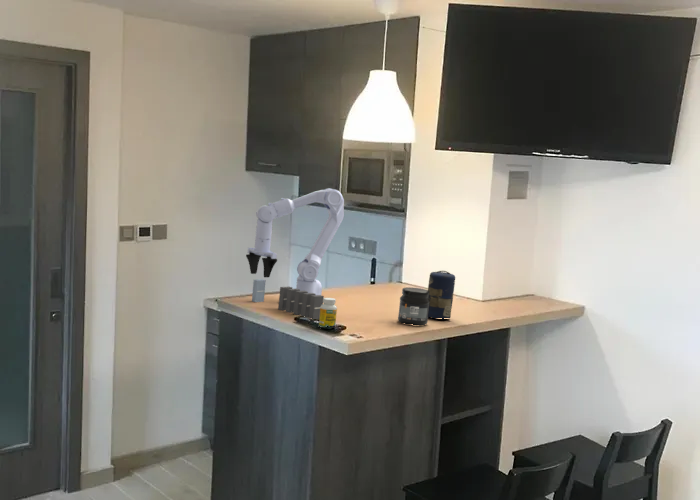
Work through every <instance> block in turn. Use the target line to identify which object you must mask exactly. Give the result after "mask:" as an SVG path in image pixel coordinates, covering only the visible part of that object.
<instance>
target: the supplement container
mask: <svg viewBox="0 0 700 500" xmlns="http://www.w3.org/2000/svg"><path fill="white" fill-rule="evenodd" d="M401 294H402V295H401V296H400V297H399V308H398V316H397V321H398V323H400V322H401V323H400V324H402V323H405V324H413V325H424V326H426V325H427V324H428V321H429V320H428V319H429V317H428V311H429V304H430V300H429V299H428V297H429V291H428V289H426V288H420V287H408V286H407V287H403V288H402V289H401ZM405 324H404V325H405ZM425 324H426V325H425Z"/></svg>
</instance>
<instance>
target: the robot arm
mask: <svg viewBox="0 0 700 500" xmlns="http://www.w3.org/2000/svg"><path fill="white" fill-rule="evenodd" d="M343 196H344V195H342V193H341V191H339V190H338V189H334V188H329V187H328V188H325V189H320V190H316V191H312V192H310V193H308V194H305V195H302V196H299V197H297V198H294V199H290V198H288V197H287V198H284V197H281V198H280V200H277V201H274V202H268V203H267V204H268V205H266V204H264V205H261V206H259V207H258V208H257V210H256V217H257V219H256V220H257V221H256V227H255V238H254V239H255V240H254V247H247V254H246V256H245V257H246V259H247V261H248V264H249V269H250V271H249V272H250V274H252V275H256V274H257V273H258V269H259V268H258V266H259V262H260V259H261V260H262V263H263V277H264V278H270V277H271V272H272V271H273V268H274V266H275V265H276V263H277V262H278V258H277V257H278V253H277V252H274V251H272V250H271V246H272V245H271V244H272V234H273V233H272V232H273V221H274V219H279V218H281V217H285V216H287V215H290V214H293V212H294V210H295V209H297V208H300V207H305V206H306V205H311V204H314V203H319V204H323V205H324V207H325V208H326V210H327V214H328V218H327V219H326V222H325V224H324V225H323V227H322V229H321V231H320V232H319V235H318V236H317V239H316V240H315V242H314V243H313V245H312V246H311V249H310V251H309V252H308V254H306V255H305V257H304V259H303V260H302V261H300V262H299V263H298V264H297V266H296V271H297V274H298V276H297V278H296V284H295V289H300V291H307V292H308V293H314V294H316V295H322V291H323V286H322V283H321V281H319V279H317V277H318V275H319V269H320V267H321V264H322V258H323V257H324V255H325V254H326V251H327V250H328V248H329V246H330V244H331V243H332V240H333V238H334V237H335V235H336V234H337V231H338V229H339V228H340V226H341V224H342V221H343V220H344V218H345V209H344V208H345V207H344V206H345V205H344V204H345V198H344V197H343ZM261 257H262V258H261Z"/></svg>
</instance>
